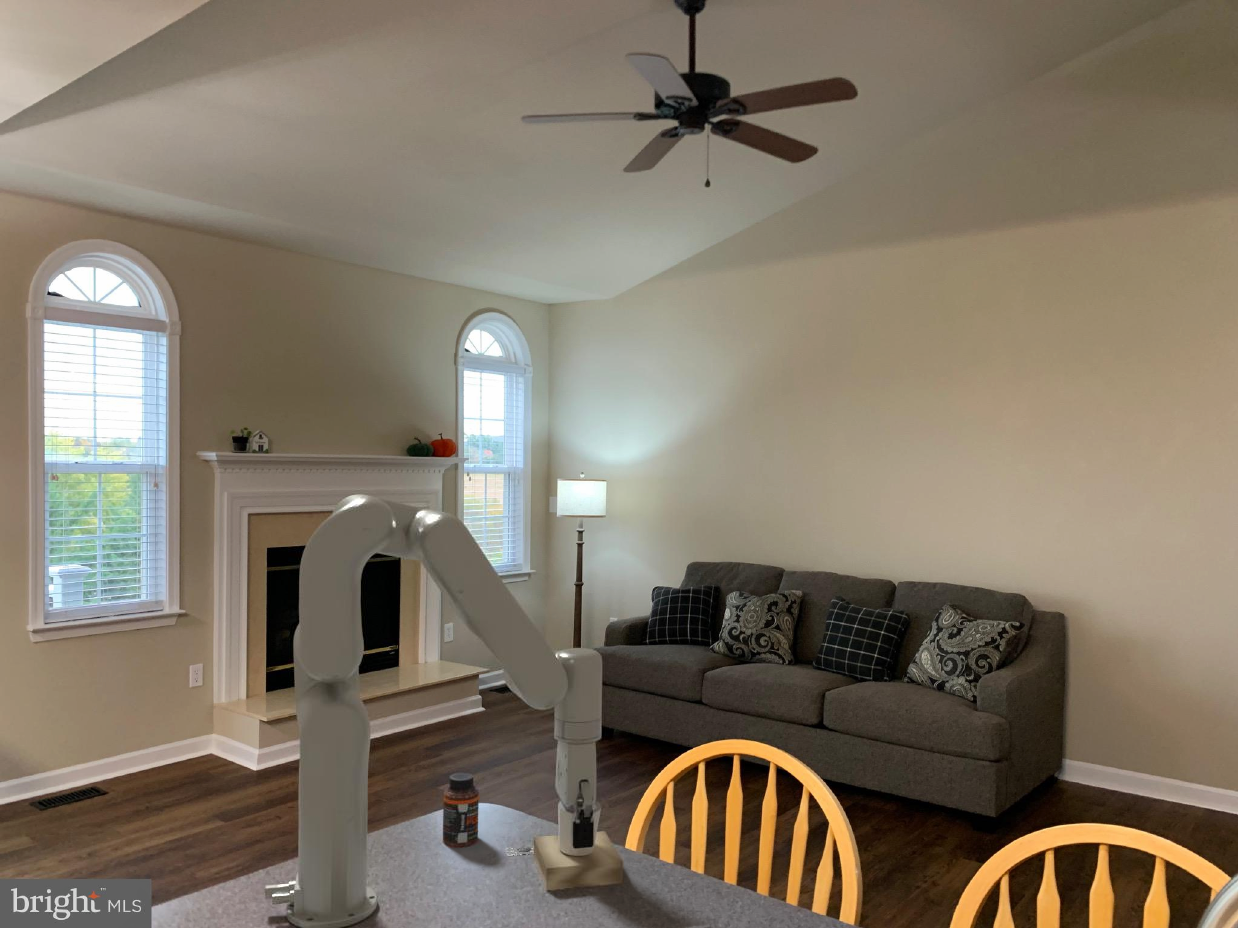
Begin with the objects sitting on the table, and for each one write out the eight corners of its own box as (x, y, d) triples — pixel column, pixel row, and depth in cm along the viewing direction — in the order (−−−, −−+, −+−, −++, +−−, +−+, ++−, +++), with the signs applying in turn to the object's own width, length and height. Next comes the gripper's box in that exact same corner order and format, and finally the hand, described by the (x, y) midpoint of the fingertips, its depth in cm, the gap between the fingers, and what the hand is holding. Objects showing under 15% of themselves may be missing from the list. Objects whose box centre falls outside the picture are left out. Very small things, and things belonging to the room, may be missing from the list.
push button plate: (507, 857, 155) (507, 855, 155) (504, 847, 159) (504, 845, 159) (543, 854, 156) (543, 852, 156) (539, 844, 160) (539, 842, 160)
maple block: (546, 894, 143) (546, 868, 143) (533, 861, 155) (533, 836, 155) (622, 886, 146) (622, 860, 146) (604, 854, 158) (604, 830, 158)
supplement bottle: (471, 850, 157) (472, 783, 157) (437, 848, 158) (438, 780, 158) (482, 836, 163) (483, 771, 163) (449, 834, 164) (450, 769, 164)
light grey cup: (588, 861, 146) (592, 816, 146) (547, 851, 148) (551, 807, 148) (603, 844, 152) (607, 801, 152) (564, 834, 155) (567, 792, 154)
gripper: (545, 714, 158) (544, 816, 158) (565, 745, 141) (563, 859, 141) (589, 711, 160) (587, 812, 160) (613, 742, 143) (612, 854, 143)
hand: (576, 834), depth 150 cm, fingers open, 9 cm apart
